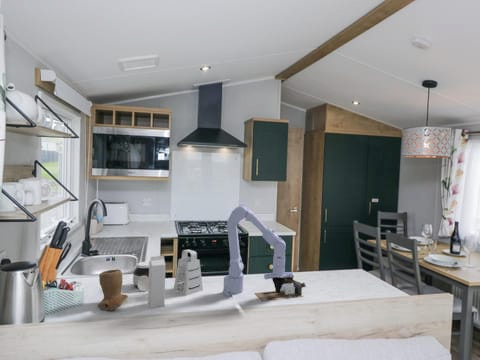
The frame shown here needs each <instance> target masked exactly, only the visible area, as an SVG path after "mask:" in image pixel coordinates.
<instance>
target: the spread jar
mask: <svg viewBox="0 0 480 360" xmlns="http://www.w3.org/2000/svg"><path fill="white" fill-rule="evenodd" d="M149 262H150V261H141V262H138V263H136V264H137V265H136V268H135V269H134V271H133V275H132V283H133V285H134V286H135V287H137V289H139V291H143V292H144V291H145V292H146V291H148V289H149Z"/></svg>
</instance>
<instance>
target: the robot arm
mask: <svg viewBox="0 0 480 360" xmlns="http://www.w3.org/2000/svg"><path fill="white" fill-rule="evenodd" d="M242 220H244V221H246V222H251V223H252V225H254V227H256V228H257V230H259V231H260V232H261V233H262V235H261V236H262V238H263V239H264V240H265V241H266V243H268V245H269V246H271V247H272V248H273V257H272V258H273V260H272V261H273V262H272V272H269V273H264V274H263V279H265V280H268V279H271V280H272V282H273V285H274V288H275V290H274V291H276V292H277V293H280V291H281V287H282V285H283V283H284V282H285V279H284V277H293V276H294V273H293V272H291V271H285V269H286V268H285V267H286V250H287V249H286V247H287V246H286V245H287V244H286V242H285V240H284V239H282V237H280V236H279V235H277V233H276V230H275V229H272V228H269V227H267V226H266V225H265V224H264V223H263V222H262V220H260V219H259V217H258V216H257V214H255V213H254V212H253V211H252V210H251V209H250V208H249V207H248V206H247V205H245V204H240V205H238V206H237V207H235V208H234V209H233V210H232V211H231V213H230V215H229V216H228V218H227V221H226V226H227V236H228V238H227V239H228V246H229V247H228V248H229V259H230V260H229V268H228V275H226V276H224V277H223V289H222V292H223V293H224V294H225V296H226V297H227V298H231V297H233V294H234V295H239V294H242V293H243V292H244V273H243V270H244V268H245V265H244V263H243V260H242V256H241V251H240V242H239V232H238V224H239V223H240V222H241V221H242ZM293 278H294V277H293Z"/></svg>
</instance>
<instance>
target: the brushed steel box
mask: <svg viewBox="0 0 480 360" xmlns="http://www.w3.org/2000/svg"><path fill="white" fill-rule="evenodd" d="M295 290H297V287H296V286H295V287H294V286H293V284H292V283H291V284H290V283H289V284H283V285H282V287H281V290H280V291H281V293H282V294H284V295H285V296H286V295H294V293H295Z"/></svg>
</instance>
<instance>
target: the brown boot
mask: <svg viewBox="0 0 480 360" xmlns="http://www.w3.org/2000/svg"><path fill="white" fill-rule="evenodd" d="M98 280H99V285H100V288H101V291H102V293H103V298H102V300H101V301H99V303H98V304H97V307H98V308H100V309H102V310H104V311H108V312H109V311H114V310H117V309H118V308H119V307H120V306H122V305H123V304H124V303H125V302H126V301H127V299H128V298H129V295H127V294H124V293H121V291H122V286H123V282H124V281H123V273H122V271H121V269H118V268H117V269H107V270H104V271H102V272H100V273H99V279H98Z"/></svg>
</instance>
